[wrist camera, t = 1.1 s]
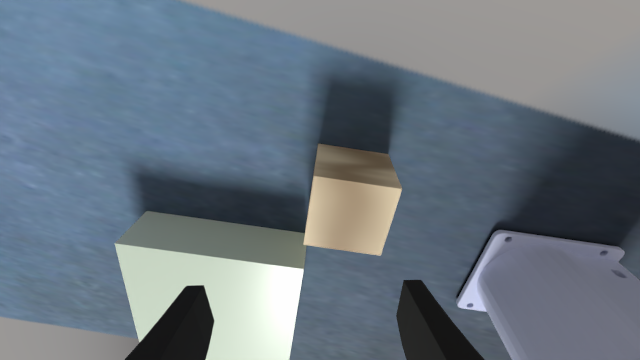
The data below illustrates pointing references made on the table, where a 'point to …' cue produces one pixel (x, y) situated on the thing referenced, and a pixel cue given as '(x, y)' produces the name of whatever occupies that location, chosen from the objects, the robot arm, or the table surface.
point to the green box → (217, 279)
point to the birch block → (351, 200)
